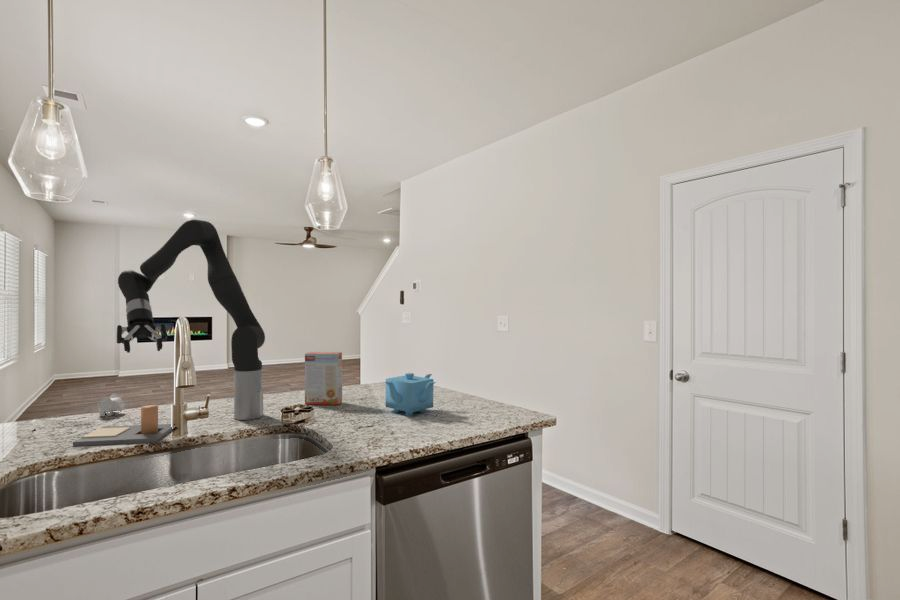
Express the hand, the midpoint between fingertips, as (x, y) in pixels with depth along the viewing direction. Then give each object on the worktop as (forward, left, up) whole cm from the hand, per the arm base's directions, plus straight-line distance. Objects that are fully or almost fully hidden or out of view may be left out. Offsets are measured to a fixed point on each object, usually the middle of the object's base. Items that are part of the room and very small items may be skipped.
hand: (144, 350), depth 155 cm
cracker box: (-56, -26, -26) cm, 67 cm away
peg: (-6, +10, -26) cm, 28 cm away
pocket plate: (0, +10, -26) cm, 27 cm away
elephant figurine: (+19, -20, -26) cm, 38 cm away
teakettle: (-90, -6, -26) cm, 94 cm away
